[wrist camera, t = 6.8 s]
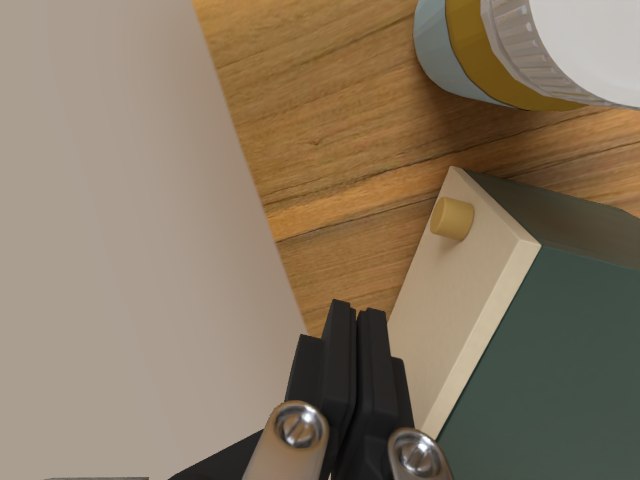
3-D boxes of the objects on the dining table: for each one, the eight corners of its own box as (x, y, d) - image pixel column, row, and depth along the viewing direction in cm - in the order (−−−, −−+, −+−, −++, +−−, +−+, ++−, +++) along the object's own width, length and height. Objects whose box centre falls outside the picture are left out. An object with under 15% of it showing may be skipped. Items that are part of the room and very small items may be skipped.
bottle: (580, 6, 19) (1094, -159, 6) (478, 121, 22) (663, 197, 8) (477, -90, 18) (806, -572, 5) (384, 43, 21) (419, -16, 7)
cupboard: (391, 345, 29) (406, 501, 18) (462, 167, 23) (543, 245, 13) (519, 379, 29) (609, 555, 18) (621, 209, 23) (838, 322, 13)
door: (360, 339, 29) (358, 488, 18) (427, 159, 23) (478, 227, 13) (389, 347, 29) (402, 500, 18) (463, 168, 23) (542, 245, 13)
